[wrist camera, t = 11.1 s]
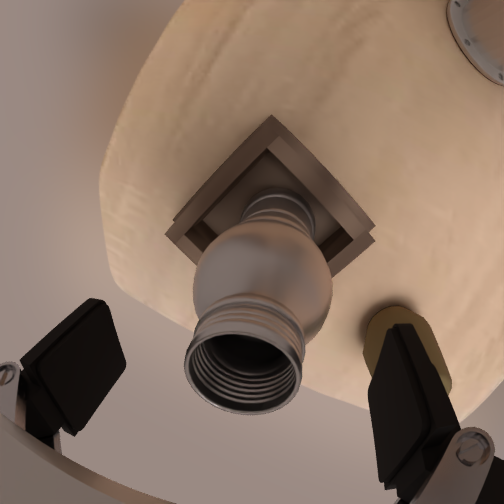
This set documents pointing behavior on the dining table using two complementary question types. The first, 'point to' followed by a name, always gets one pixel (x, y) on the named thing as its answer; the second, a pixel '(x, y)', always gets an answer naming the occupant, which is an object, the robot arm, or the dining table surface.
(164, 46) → the dining table surface
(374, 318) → the squeeze bottle
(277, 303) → the plastic bottle
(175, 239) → the bottle caddy
